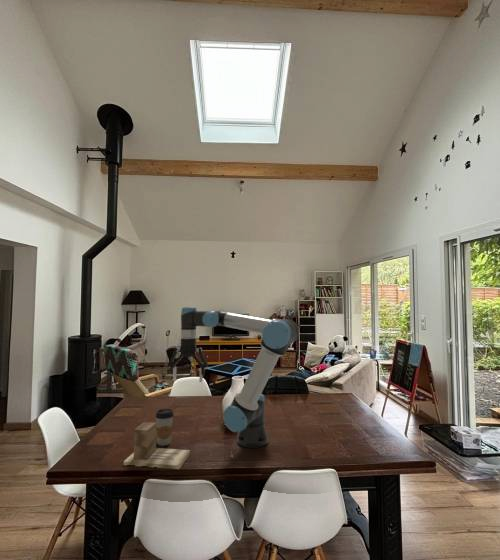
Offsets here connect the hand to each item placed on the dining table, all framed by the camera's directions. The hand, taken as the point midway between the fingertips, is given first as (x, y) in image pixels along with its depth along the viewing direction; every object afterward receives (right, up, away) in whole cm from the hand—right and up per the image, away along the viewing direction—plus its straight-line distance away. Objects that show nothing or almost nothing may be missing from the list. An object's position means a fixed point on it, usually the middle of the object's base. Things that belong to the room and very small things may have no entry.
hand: (187, 381), depth 161 cm
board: (-9, -27, -21) cm, 35 cm away
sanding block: (-15, -26, -20) cm, 36 cm away
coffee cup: (-10, -29, -5) cm, 31 cm away
